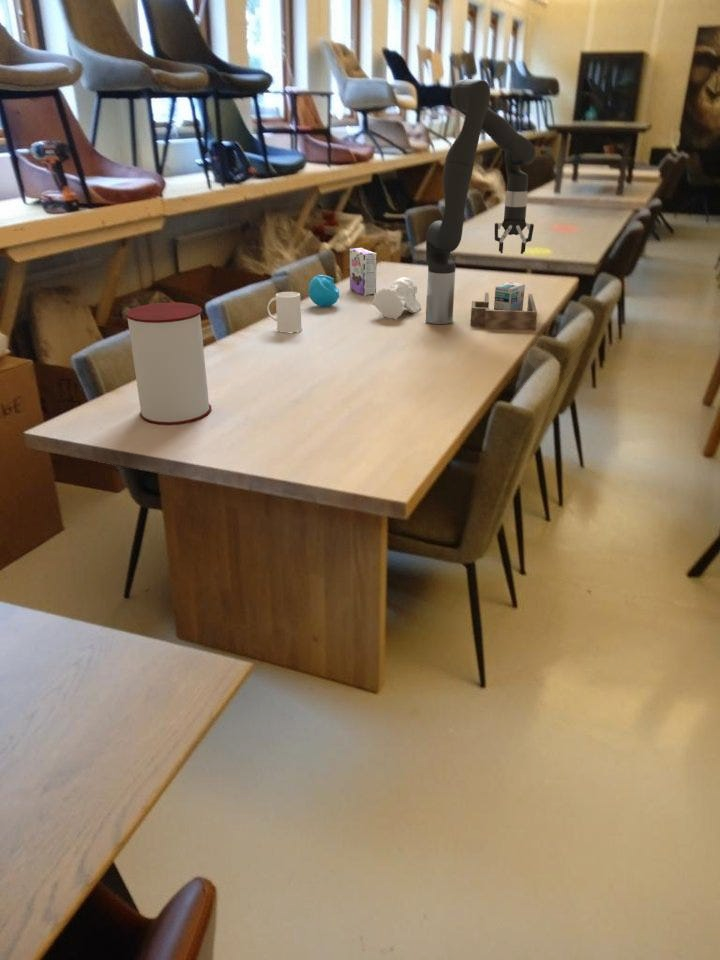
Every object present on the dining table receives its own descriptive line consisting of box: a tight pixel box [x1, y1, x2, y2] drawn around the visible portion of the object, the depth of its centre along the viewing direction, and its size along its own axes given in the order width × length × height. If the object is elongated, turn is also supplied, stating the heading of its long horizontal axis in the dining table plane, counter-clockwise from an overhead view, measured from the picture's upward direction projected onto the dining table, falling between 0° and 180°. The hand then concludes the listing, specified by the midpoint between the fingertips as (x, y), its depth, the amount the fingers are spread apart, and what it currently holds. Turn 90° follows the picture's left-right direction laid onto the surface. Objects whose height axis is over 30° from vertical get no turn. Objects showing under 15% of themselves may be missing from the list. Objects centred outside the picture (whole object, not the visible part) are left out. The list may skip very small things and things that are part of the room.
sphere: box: [308, 274, 340, 308], centre depth 278 cm, size 12×11×12 cm
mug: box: [267, 291, 303, 333], centre depth 249 cm, size 12×8×12 cm
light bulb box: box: [493, 281, 526, 311], centre depth 266 cm, size 11×7×11 cm, turn 143°
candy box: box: [349, 247, 378, 297], centre depth 299 cm, size 14×6×16 cm, turn 25°
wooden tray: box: [470, 292, 538, 331], centre depth 263 cm, size 22×27×6 cm
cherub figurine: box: [371, 276, 422, 320], centre depth 270 cm, size 13×12×20 cm
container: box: [125, 301, 212, 426], centre depth 178 cm, size 17×17×25 cm
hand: (511, 253), depth 270 cm, fingers open, 6 cm apart
